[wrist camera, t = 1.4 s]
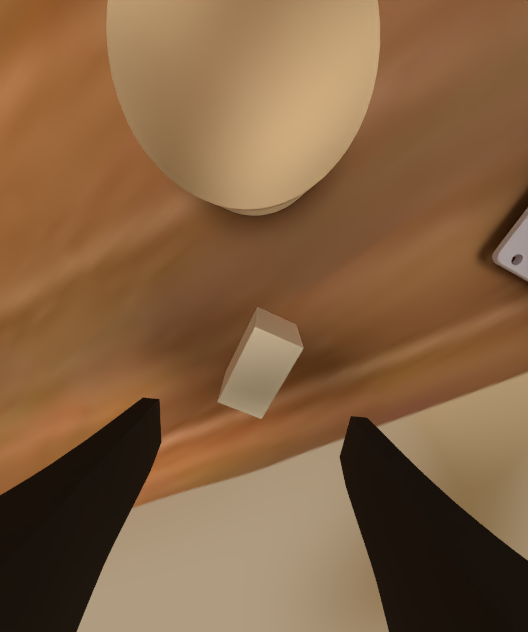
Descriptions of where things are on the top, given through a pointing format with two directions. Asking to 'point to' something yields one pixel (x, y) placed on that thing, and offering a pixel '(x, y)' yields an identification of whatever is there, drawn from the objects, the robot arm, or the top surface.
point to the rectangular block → (260, 363)
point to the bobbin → (244, 91)
